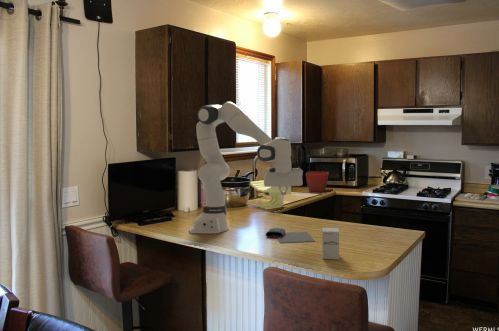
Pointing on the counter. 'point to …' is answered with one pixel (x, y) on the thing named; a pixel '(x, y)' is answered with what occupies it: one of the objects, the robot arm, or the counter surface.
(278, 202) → the slatted curved stool
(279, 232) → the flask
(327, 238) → the supplement box
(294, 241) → the mat
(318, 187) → the plant pot
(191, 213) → the counter surface
